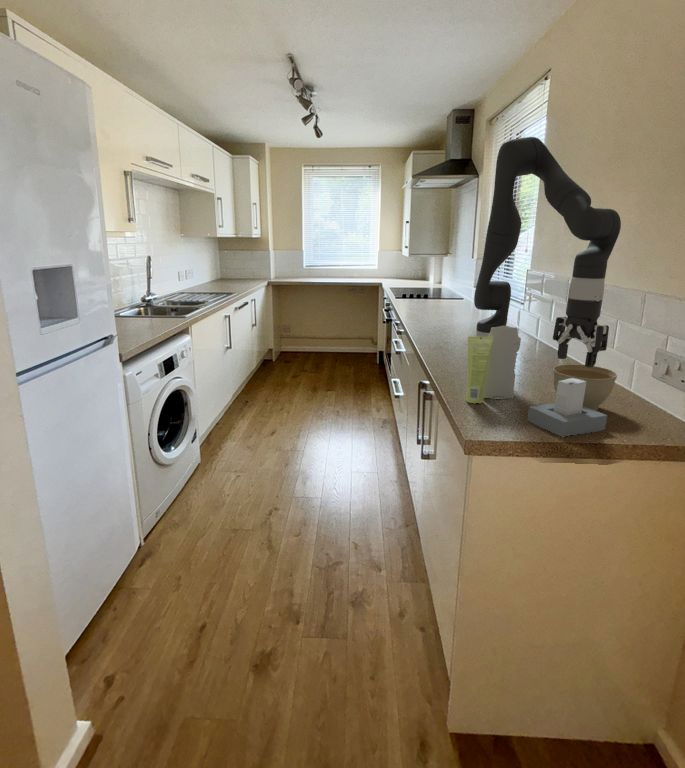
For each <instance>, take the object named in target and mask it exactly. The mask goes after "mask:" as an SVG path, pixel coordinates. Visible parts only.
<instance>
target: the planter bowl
mask: <svg viewBox="0 0 685 768" xmlns="http://www.w3.org/2000/svg"><path fill="white" fill-rule="evenodd" d="M552 372H553V376H552V378H553V379H552V381H553V387H554V390H555V392H557V386H558V381H561V380H566V379H570V378H575V379H579V380H583V381H586V388H585V394H584V400H583V406H584V407H587V408H590V409H592V410H595V411H598V409H599V407H600V406H601V405H602V404H603V403H605V401H606V400H607V399H608V398H609V397H610V394H611V393H612V391H613V389H614V386H615V382H616V380H617V377H618V374H617V372H615V371H613V370H611V369H608V368H605V367H601V366H596V365H594V366H593V367H585V364H582V363H581V364H578V363H577V364H575V363H570V364H568V363H567V364H566V363H565V364H559V365H556V366H553V369H552Z"/></svg>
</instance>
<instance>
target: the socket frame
mask: <svg viewBox="0 0 685 768" xmlns="http://www.w3.org/2000/svg"><path fill="white" fill-rule="evenodd" d="M554 405H555V402H553V403H552V402H551V403H546V404H541V405H540V404H538V405H531V406H528V412H527V413H528V414H527V422H528V421H529V422H528V423H530V422H531V423H530V424H532V423H533V424H532V425H535V426H536V427H538V428H541V429H543V430H545V429H546V431H547V430H548V431H547V432H549V431H550V433H551V432H552V433H551V434H553V433H555V434H554V435H556V434H557V435H556V436H558V435H559V436H558V437H560V436H561V437H560V438H566V437H565V436H568V437H571V436H570V435H574V436H578V435H577V434H580V435H585V433H586V434H591V432H592V433H597V432H603V431H606V427H607V426H606V425H607V421H608V420H607V419H608V414H605V413H603V412H600V411H598V410H597V411H595V410H592V409H590V408H587V407H584V406H582V412H581V414H578V415H571V416H565V417H564V416H562V415H559V414H557V413H555V412H554ZM602 430H603V431H602Z"/></svg>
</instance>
